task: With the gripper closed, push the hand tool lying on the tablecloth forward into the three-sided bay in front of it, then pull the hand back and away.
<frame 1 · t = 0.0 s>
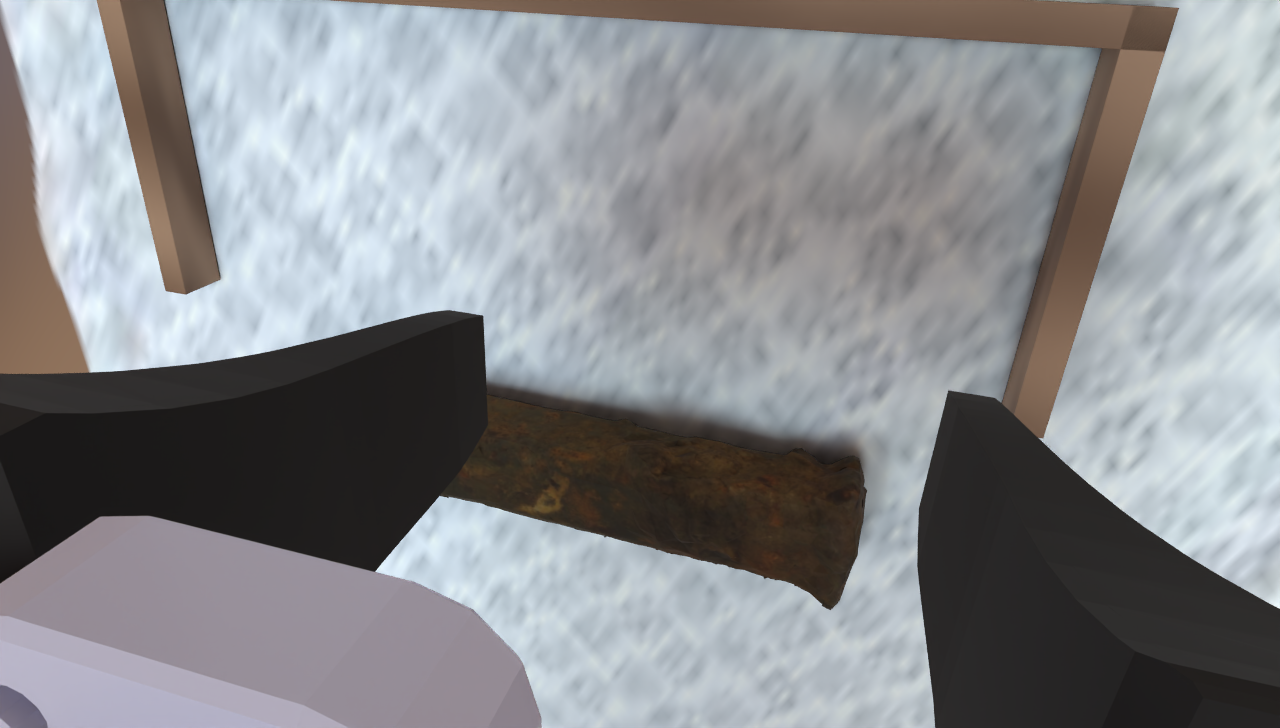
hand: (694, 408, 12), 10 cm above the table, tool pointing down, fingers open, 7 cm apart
tool bay: (564, 173, 22), on the table
hand tool: (569, 439, 26), on the table
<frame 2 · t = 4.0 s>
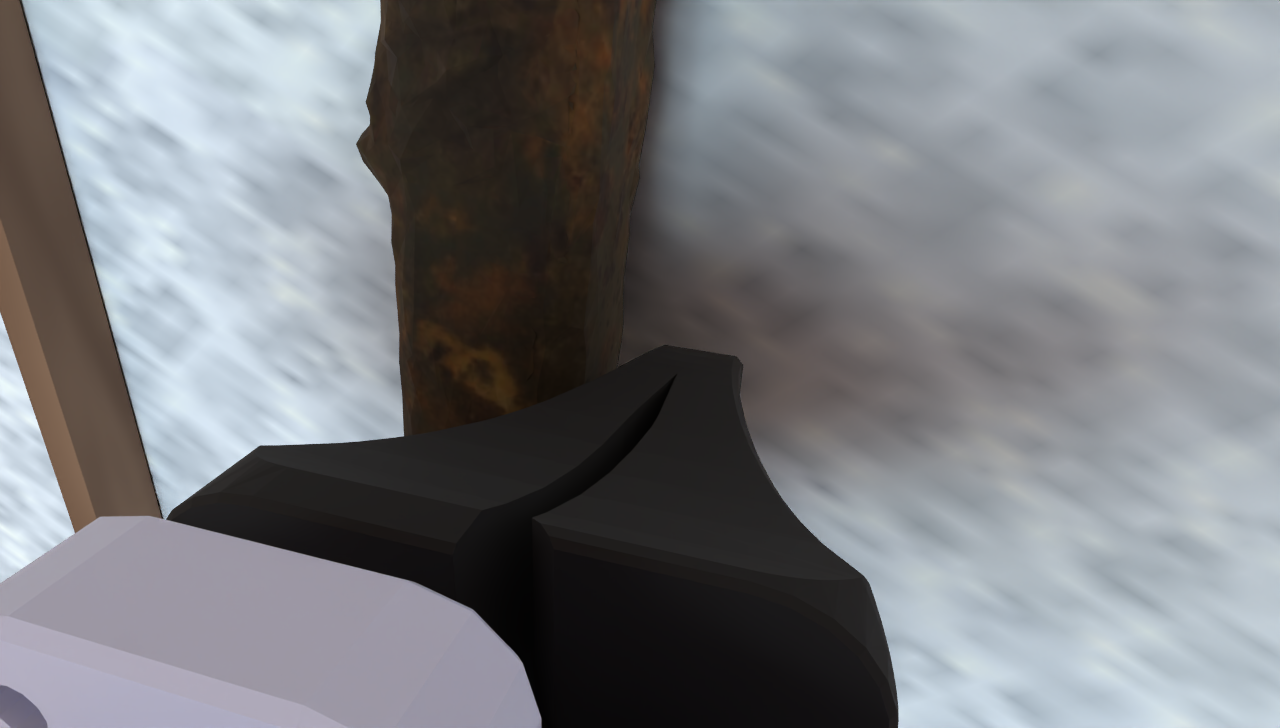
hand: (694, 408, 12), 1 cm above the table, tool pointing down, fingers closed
tool bay: (260, 293, 15), on the table
hand tool: (596, 326, 14), on the table, touching gripper
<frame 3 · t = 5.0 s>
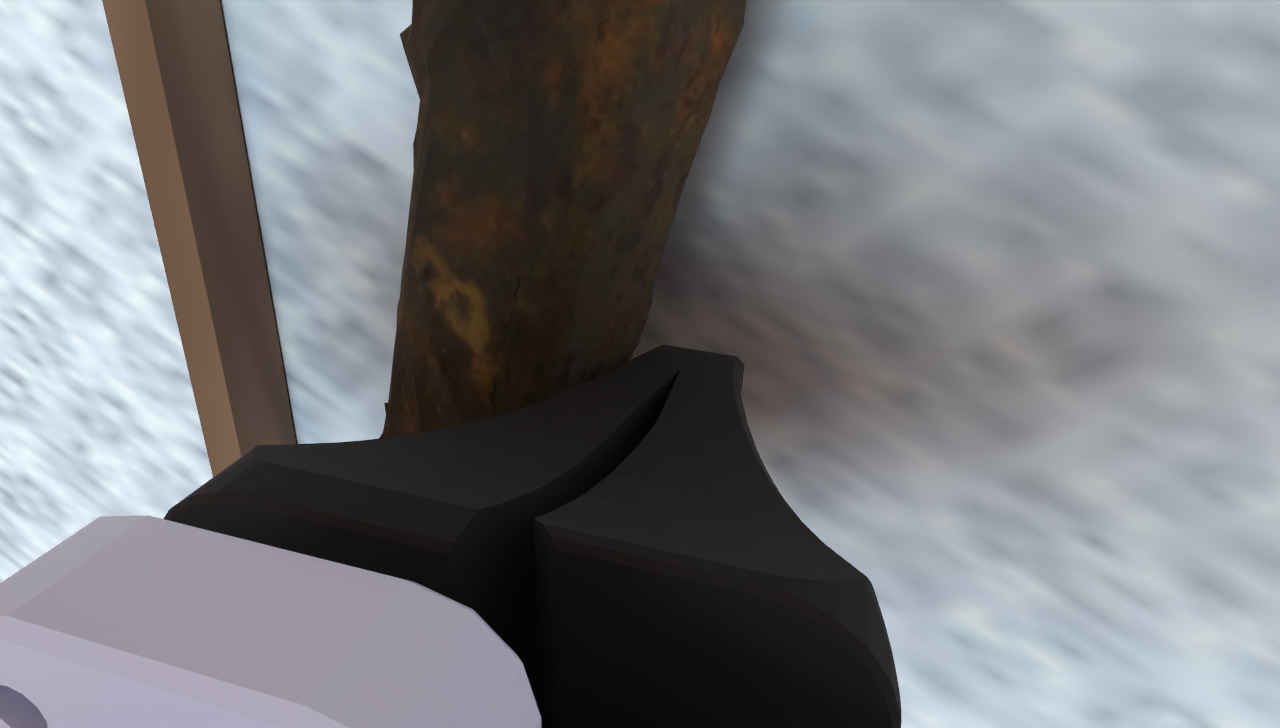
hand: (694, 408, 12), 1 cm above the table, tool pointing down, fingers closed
tool bay: (462, 328, 14), on the table
hand tool: (639, 304, 13), on the table, touching gripper
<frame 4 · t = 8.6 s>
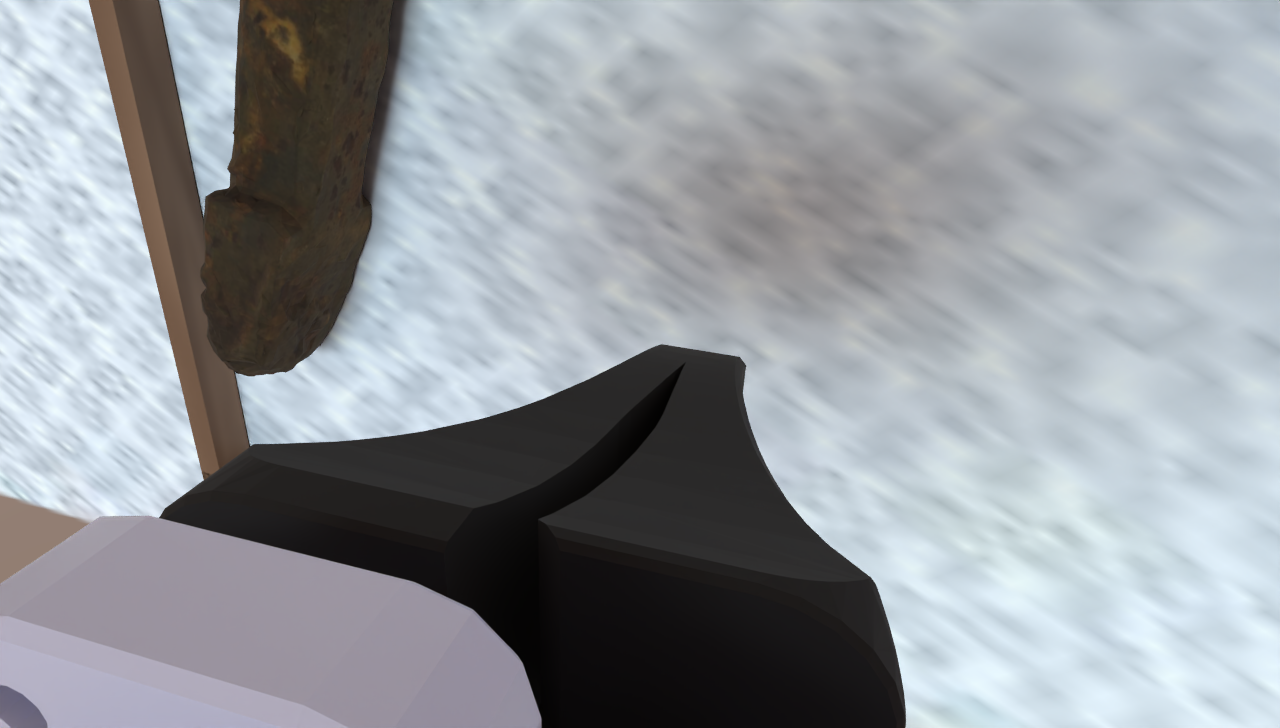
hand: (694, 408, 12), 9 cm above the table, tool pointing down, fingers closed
tool bay: (296, 111, 23), on the table
hand tool: (382, 61, 22), on the table
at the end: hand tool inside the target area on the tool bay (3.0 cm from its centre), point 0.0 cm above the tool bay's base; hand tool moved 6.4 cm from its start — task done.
